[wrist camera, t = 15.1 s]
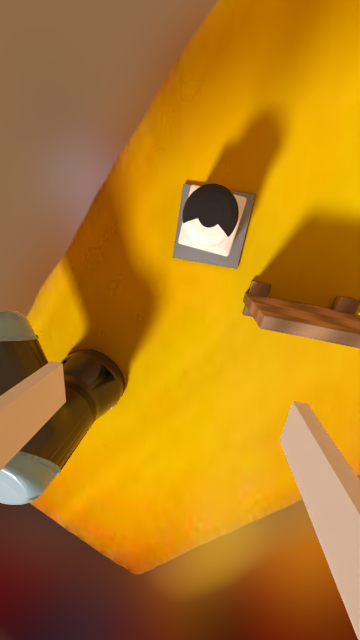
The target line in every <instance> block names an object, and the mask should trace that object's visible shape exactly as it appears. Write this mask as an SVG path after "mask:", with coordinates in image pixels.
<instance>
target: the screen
mask: <svg viewBox="0 0 360 640" xmlns="http://www.w3.org/2000/svg"><path fill="white" fill-rule="evenodd" d="M270 287H271V284H268V283H263V282H257V281H252V282H251V285H250V289H249V292H248V293H245V296H244V300H243V302H244V303H245V307H244V310H243V315H246V316H251V317H253V318H254V319H255V321H256V322H257V324H258V326H259V327H260V328H261V329H266V330H271V331H276V332H281V333H286V334H291V335H296V336H301V337H306V338H311V339H316V340H321V341H326V342H331V343H336V344H341V345H346V346H351V347H356V348H360V315H357V314H355V312H356V309H357V307H358V305H359V303H360V300H357V299H352V298H346V297H341V296H337V298H336V300H335V302H334V305H333V307H332V309H330V308H325V307H319V306H314V305H308V304H303V303H298V302H292V301H287V300H282V299H276V298H271V297H267V296H268V293H269V290H270Z"/></svg>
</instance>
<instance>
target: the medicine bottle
mask: <svg viewBox="0 0 360 640" xmlns="http://www.w3.org/2000/svg"><path fill="white" fill-rule="evenodd" d="M245 204H246V198H245V197H242V196H238V195H234V194H232V192H231V191H230V190H228V189H227V188H226V187H224V186H222V185H219V184H206V185H203V186H198V185H191V187H190V191H189V196H188V199H187V201H186V203H185V205H184V209H183V221H182V226H181V230H180V234H179V239H178V243H179V244H182V245H186V246H189V247H193V248H197V249H200V250H204V251H208V252H211V253H215V254H219V255H223V256H229V254H230V251H231V247H232V244H233V241H234V238H235V235H236V232H237V229H238V226H239V223H240V219H241V216H242V213H243V210H244V207H245Z"/></svg>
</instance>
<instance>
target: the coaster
mask: <svg viewBox="0 0 360 640" xmlns="http://www.w3.org/2000/svg"><path fill="white" fill-rule="evenodd" d="M190 187H191V185H188V184H183V190H182V197H181V204H180V211H179V218H178V225H177V232H176V239H175V246H174V253H173V258H178V259H184V260H189V261H195V262H201V263H206V264H212V265H218V266H223V267H229V268H235V269H237V267H238V263H239V259H240V255H241V251H242V247H243V243H244V239H245V235H246V231H247V227H248V223H249V219H250V215H251V210H252V206H253V202H254V198H255V194H252V193H245V192H238V191H231V190H230V191H231V192H232V194H234V195H238V196H242V197H245V198H246V204H245V207H244V210H243V213H242V216H241V219H240V223H239V226H238V229H237V232H236V235H235V238H234V241H233V244H232V247H231V251H230V254H229V256H223V255H219V254H215V253H211V252H208V251H204V250H200V249H197V248H193V247H189V246H186V245H182V244H179V243H178V239H179V234H180V230H181V226H182V221H183V209H184V205H185V203H186V201H187V199H188V196H189V191H190Z"/></svg>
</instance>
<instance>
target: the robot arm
mask: <svg viewBox="0 0 360 640" xmlns="http://www.w3.org/2000/svg"><path fill="white" fill-rule="evenodd" d="M38 338H39V337H38V336H37V335H35V333H34V331H33V329H32V327H31V325H30V324H29V322H28V320H27V318H26V317H25V316H24V315H23V314H21V313H19V312H16V311H6V312H0V503H4V504H12V505H13V504H14V505H20V504H25V503H29V502H31V501H33V500H35V499H37V498H38V497H39V496H40V495H41V494H42V493H43V492H44V491H45V490H46V488H47V487H48V486H49V484H50V483H51V482H52V481H53V479H54V478H55V477H56V476H58V474H59V473H60V472H61V469H62V468H63V467H64V465H65V464H66V462H67V461H68V459H69V458H70V456H71V455H72V453H73V452H74V450H75V449H76V447H77V446H78V444H79V443H80V442H81V440H82V439H83V437H84V436H85V434H86V433H87V431H88V430H89V428H90V427H91V425H92V424H93V423H94V421H95V420H96V419H98V418H99V417H100V416H102V415H103V414H105V413H106V412H107V411H108V410H110V409H112V408H113V407H114V406H115V405H116V404H117V402H118V401H119V399H120V397H121V396H122V394H123V391H124V379H123V376H122V373H121V371H120V369H119V368H118V366H117V365H116V364H115V363H114V362H113V361H112V360H111V359H110V358H108V357H107V356H105V355H104V354H102V353H99V352H97V351H93V350H79V351H76V352H73V353H72V354H70V355H69V356H68V357H66V358H65V359H64V360H63V361H62V362H61V363H57V362H51V361H50V362H49V363H48V361H47V359H46V356H45V354H44V352H43V350H42V348H41V345H40V343H39V341H38ZM280 443H281V445H282V448H283V450H284V453H285V455H286V458H287V460H288V463H289V466H290V468H291V471H292V473H293V476H294V478H295V481H296V483H297V486H298V488H299V491H300V493H301V496H302V498H303V501H304V504H305V506H306V509H307V511H308V514H309V516H310V519H311V521H312V524H313V526H314V529H315V531H316V534H317V536H318V539H319V541H320V544H321V547H322V549H323V552H324V554H325V557H326V559H327V562H328V564H329V567H330V569H331V572H332V575H333V577H334V580H335V582H336V584H337V587H338V590H339V592H340V595H341V597H342V600H343V602H344V605H345V607H346V610H347V613H348V615H349V617H350V620H351V623H352V625H353V628H354V630H355V633H356V635H357V638H358V640H360V480H359V479H358V477H357V476H356V474H355V473H354V471H353V470H352V468H351V467H350V465H349V464H348V462H347V461H346V459H345V458H344V456H343V455H342V454H341V452H340V451H339V449H338V448H337V446H336V445H335V443H334V442H333V440H332V439H331V437H330V436H329V434H328V433H327V431H326V430H325V429H324V427H323V426H322V424H321V423H320V421H319V420H318V418H317V417H316V415H315V414H314V412H313V411H312V409H311V408H310V406H309V405H308V404H306V403H300V402H294V401H293V402H292V405H291V408H290V411H289V414H288V417H287V420H286V423H285V426H284V429H283V432H282V435H281V437H280Z"/></svg>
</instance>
